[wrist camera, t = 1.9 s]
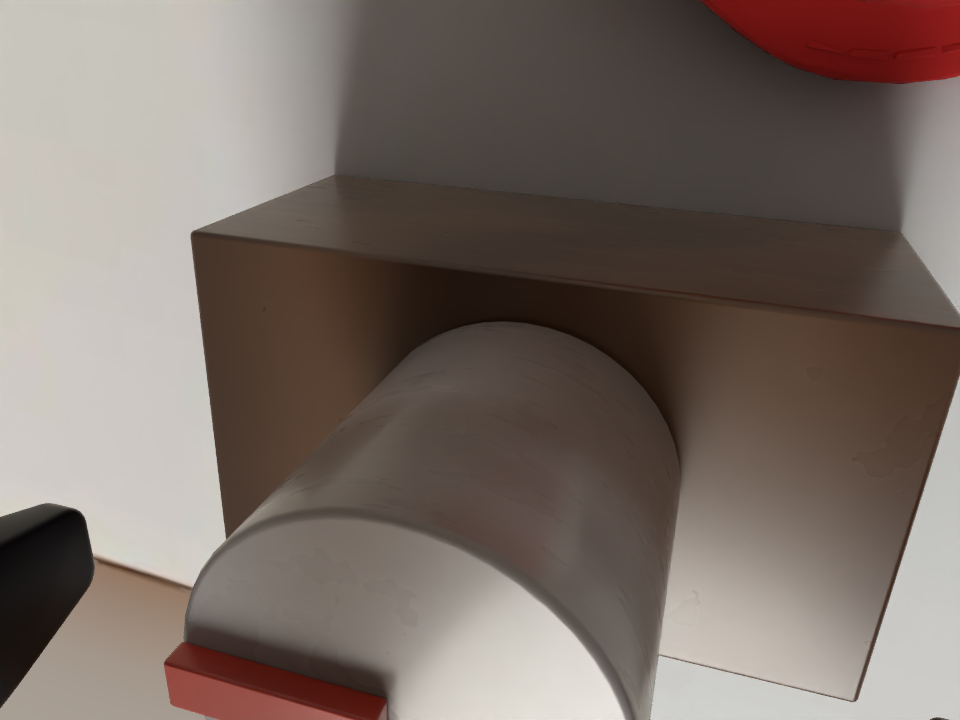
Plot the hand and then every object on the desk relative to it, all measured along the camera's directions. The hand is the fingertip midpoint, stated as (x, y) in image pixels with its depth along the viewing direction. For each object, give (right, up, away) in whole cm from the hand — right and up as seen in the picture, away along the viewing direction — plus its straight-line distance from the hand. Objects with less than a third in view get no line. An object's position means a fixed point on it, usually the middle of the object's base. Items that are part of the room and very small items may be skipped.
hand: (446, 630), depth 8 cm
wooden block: (+2, +3, +7) cm, 8 cm away
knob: (+1, +1, +3) cm, 3 cm away
